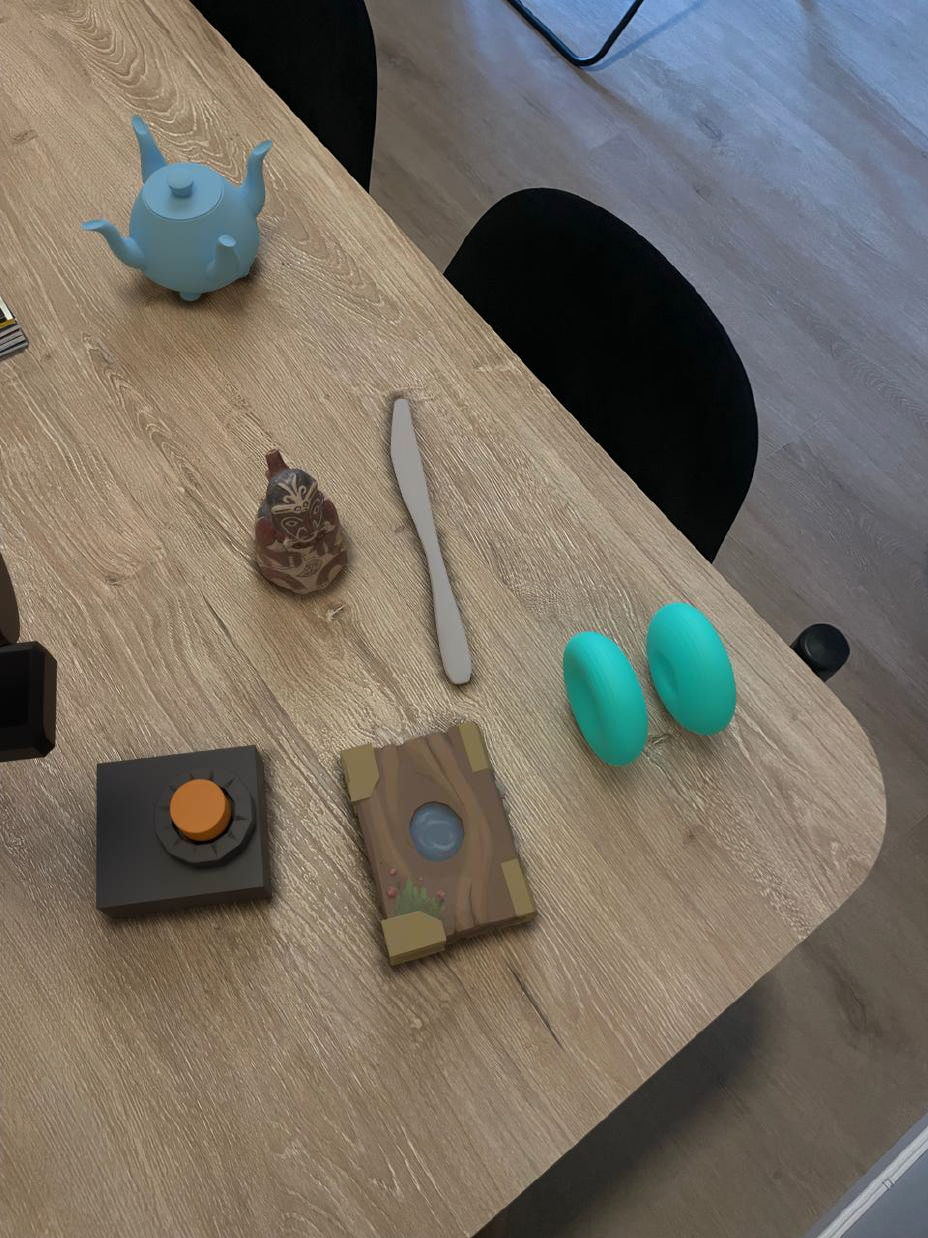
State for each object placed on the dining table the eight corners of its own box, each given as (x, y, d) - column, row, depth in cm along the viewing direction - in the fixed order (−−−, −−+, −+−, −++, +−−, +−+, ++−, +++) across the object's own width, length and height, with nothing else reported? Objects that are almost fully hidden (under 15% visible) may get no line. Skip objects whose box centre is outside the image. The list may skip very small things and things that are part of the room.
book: (341, 768, 80) (336, 747, 75) (483, 730, 81) (486, 707, 77) (391, 966, 74) (389, 957, 69) (543, 921, 76) (551, 908, 71)
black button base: (112, 919, 75) (88, 904, 69) (112, 780, 79) (89, 755, 73) (272, 898, 76) (260, 881, 70) (263, 762, 80) (251, 736, 74)
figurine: (272, 605, 85) (250, 530, 74) (246, 531, 88) (221, 449, 77) (358, 577, 86) (349, 499, 75) (330, 505, 89) (317, 420, 78)
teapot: (288, 226, 102) (275, 137, 92) (248, 334, 96) (230, 251, 87) (157, 201, 102) (131, 111, 93) (110, 307, 97) (77, 222, 88)
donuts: (550, 670, 84) (565, 615, 74) (667, 631, 85) (695, 574, 76) (600, 788, 80) (623, 746, 71) (721, 745, 81) (758, 699, 72)
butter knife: (437, 686, 82) (475, 679, 82) (380, 401, 93) (414, 395, 93) (437, 689, 82) (475, 681, 83) (380, 405, 94) (414, 399, 94)
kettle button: (177, 844, 71) (170, 836, 69) (176, 792, 73) (168, 782, 71) (232, 837, 72) (226, 829, 70) (229, 785, 73) (224, 775, 71)
